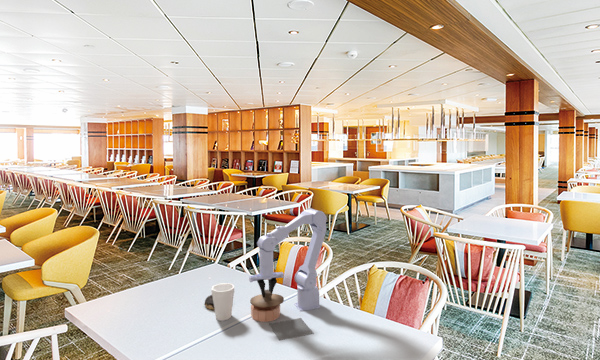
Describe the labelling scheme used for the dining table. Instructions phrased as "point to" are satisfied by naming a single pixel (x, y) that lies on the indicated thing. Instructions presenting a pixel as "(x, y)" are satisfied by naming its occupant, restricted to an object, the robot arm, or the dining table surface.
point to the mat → (290, 329)
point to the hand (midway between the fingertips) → (266, 296)
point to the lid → (267, 300)
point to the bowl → (265, 313)
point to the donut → (209, 302)
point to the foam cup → (223, 300)
